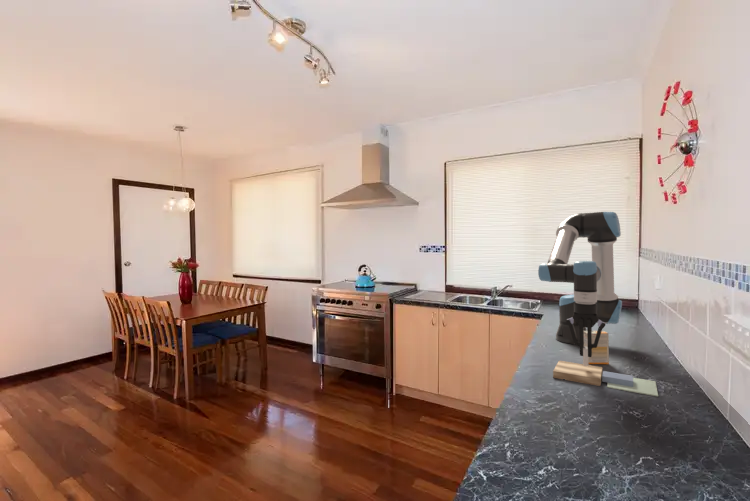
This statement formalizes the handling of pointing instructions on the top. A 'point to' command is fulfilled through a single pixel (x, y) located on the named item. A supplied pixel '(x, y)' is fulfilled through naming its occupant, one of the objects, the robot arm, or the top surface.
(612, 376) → the blue rectangular block
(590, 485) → the top surface
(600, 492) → the top surface
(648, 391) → the mat
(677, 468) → the top surface
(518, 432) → the top surface
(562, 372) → the board
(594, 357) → the supplement box
